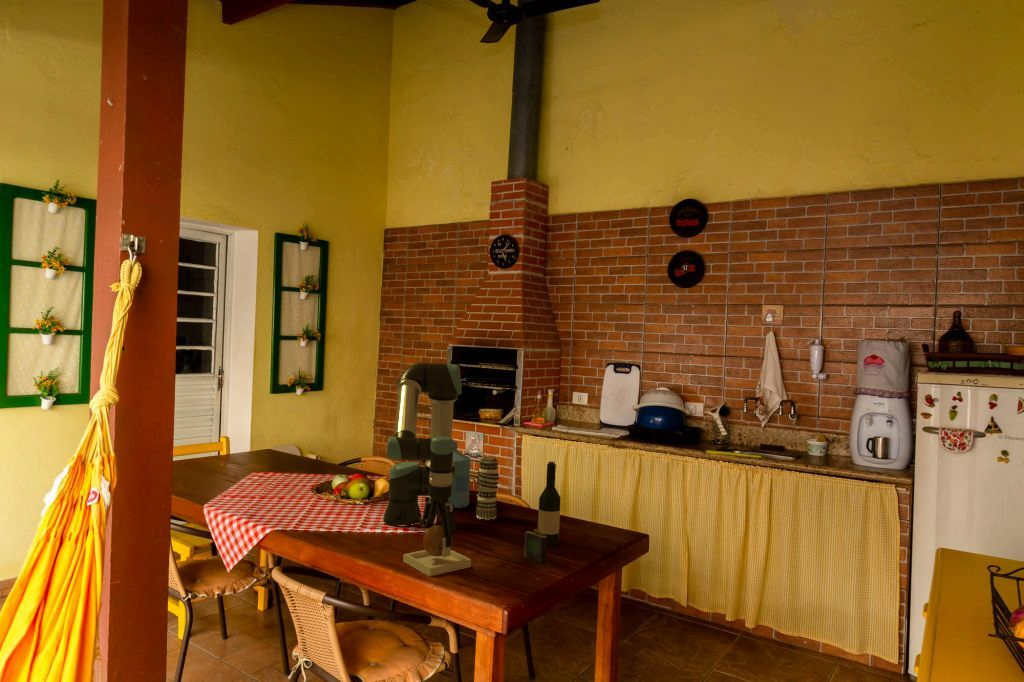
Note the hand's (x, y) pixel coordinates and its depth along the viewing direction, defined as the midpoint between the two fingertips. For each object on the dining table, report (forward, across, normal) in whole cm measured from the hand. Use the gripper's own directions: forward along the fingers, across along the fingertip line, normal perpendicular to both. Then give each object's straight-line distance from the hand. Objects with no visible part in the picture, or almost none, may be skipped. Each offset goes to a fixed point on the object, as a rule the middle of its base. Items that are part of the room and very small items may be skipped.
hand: (437, 551), depth 226 cm
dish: (+4, 0, 0) cm, 4 cm away
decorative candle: (+4, -37, +49) cm, 61 cm away
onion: (+1, 0, 0) cm, 1 cm away
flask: (+4, +14, +31) cm, 34 cm away
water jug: (+4, -61, +48) cm, 78 cm away
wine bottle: (+4, +2, +48) cm, 48 cm away
